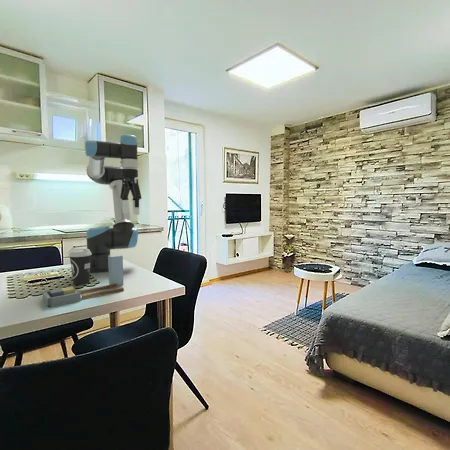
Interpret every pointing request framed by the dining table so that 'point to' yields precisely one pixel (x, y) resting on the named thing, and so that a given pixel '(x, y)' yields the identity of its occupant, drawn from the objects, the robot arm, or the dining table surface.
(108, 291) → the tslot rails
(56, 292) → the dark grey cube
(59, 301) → the tray
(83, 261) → the coffee cup
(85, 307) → the dining table surface
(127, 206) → the robot arm
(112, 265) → the blue grey rectangular box
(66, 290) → the chip brass
